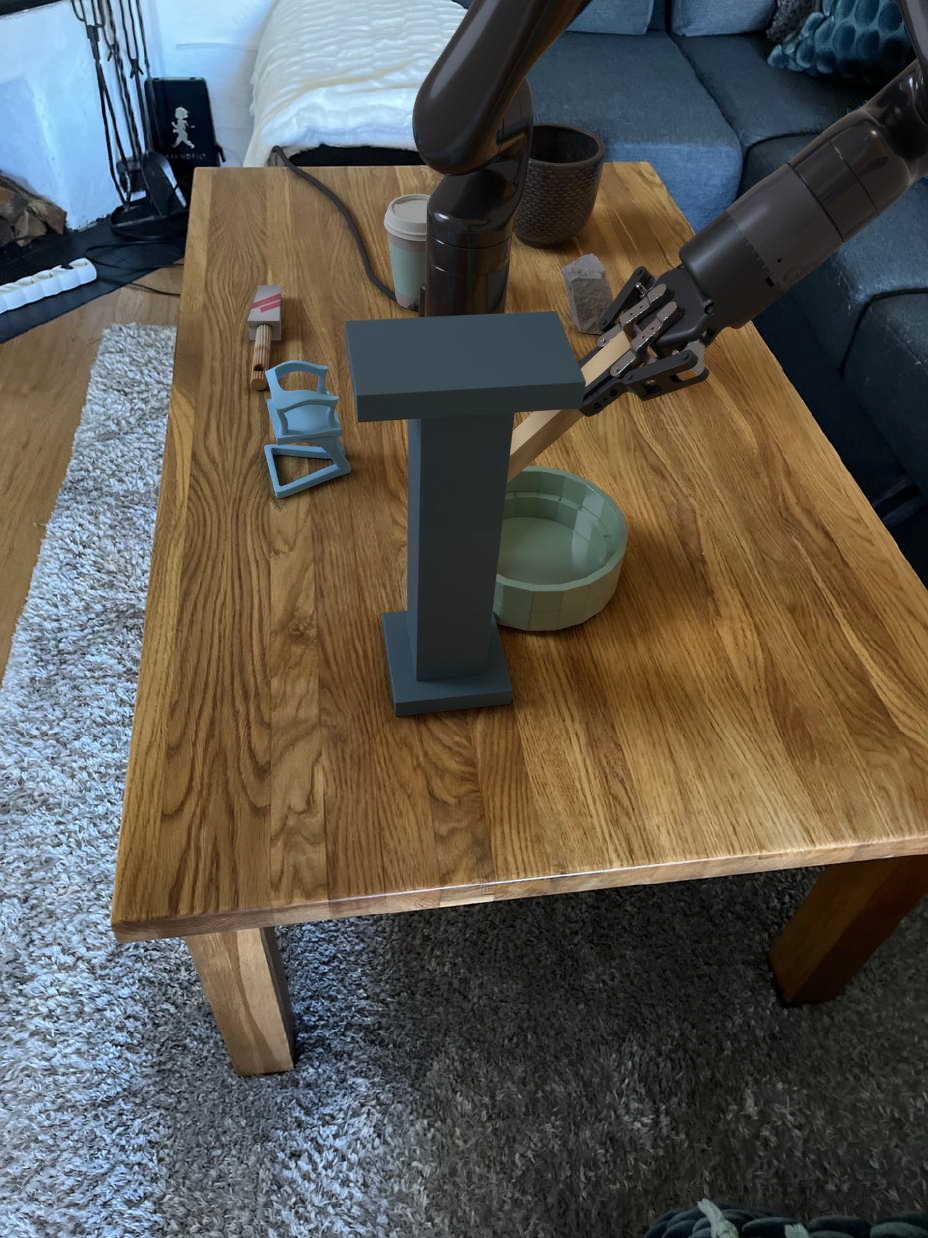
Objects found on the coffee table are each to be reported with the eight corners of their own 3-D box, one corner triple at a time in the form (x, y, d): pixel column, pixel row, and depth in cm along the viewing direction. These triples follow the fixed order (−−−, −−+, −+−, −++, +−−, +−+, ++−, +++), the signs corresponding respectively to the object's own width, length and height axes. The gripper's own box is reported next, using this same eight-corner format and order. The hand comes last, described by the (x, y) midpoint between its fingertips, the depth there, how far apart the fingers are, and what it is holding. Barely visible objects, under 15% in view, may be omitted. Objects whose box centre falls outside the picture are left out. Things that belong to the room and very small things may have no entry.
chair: (355, 486, 97) (351, 390, 88) (275, 499, 95) (262, 402, 86) (340, 440, 102) (335, 344, 93) (264, 451, 100) (250, 355, 91)
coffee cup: (459, 289, 124) (464, 199, 114) (437, 322, 118) (440, 230, 109) (399, 275, 125) (399, 186, 116) (374, 307, 120) (372, 216, 111)
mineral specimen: (595, 294, 123) (613, 243, 116) (619, 341, 120) (639, 292, 113) (544, 299, 121) (559, 248, 114) (567, 348, 118) (584, 298, 111)
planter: (594, 263, 130) (610, 168, 120) (494, 257, 129) (502, 162, 120) (587, 215, 139) (601, 123, 129) (494, 210, 139) (501, 117, 129)
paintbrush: (284, 274, 118) (273, 374, 106) (286, 294, 120) (275, 394, 108) (253, 274, 117) (238, 374, 105) (256, 293, 120) (241, 393, 107)
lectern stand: (371, 719, 78) (358, 405, 54) (360, 629, 85) (343, 311, 61) (533, 701, 81) (590, 391, 56) (510, 614, 87) (552, 302, 63)
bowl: (411, 557, 91) (411, 511, 87) (536, 489, 98) (542, 444, 94) (525, 664, 83) (532, 620, 79) (651, 581, 91) (664, 537, 86)
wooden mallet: (457, 539, 82) (436, 527, 81) (449, 502, 86) (429, 489, 84) (651, 369, 72) (631, 352, 70) (633, 334, 75) (614, 316, 74)
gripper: (702, 170, 70) (528, 323, 78) (772, 264, 62) (567, 427, 69) (749, 235, 75) (580, 373, 83) (820, 331, 66) (624, 476, 74)
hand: (575, 397), depth 76 cm, fingers closed on wooden mallet, 2 cm apart
